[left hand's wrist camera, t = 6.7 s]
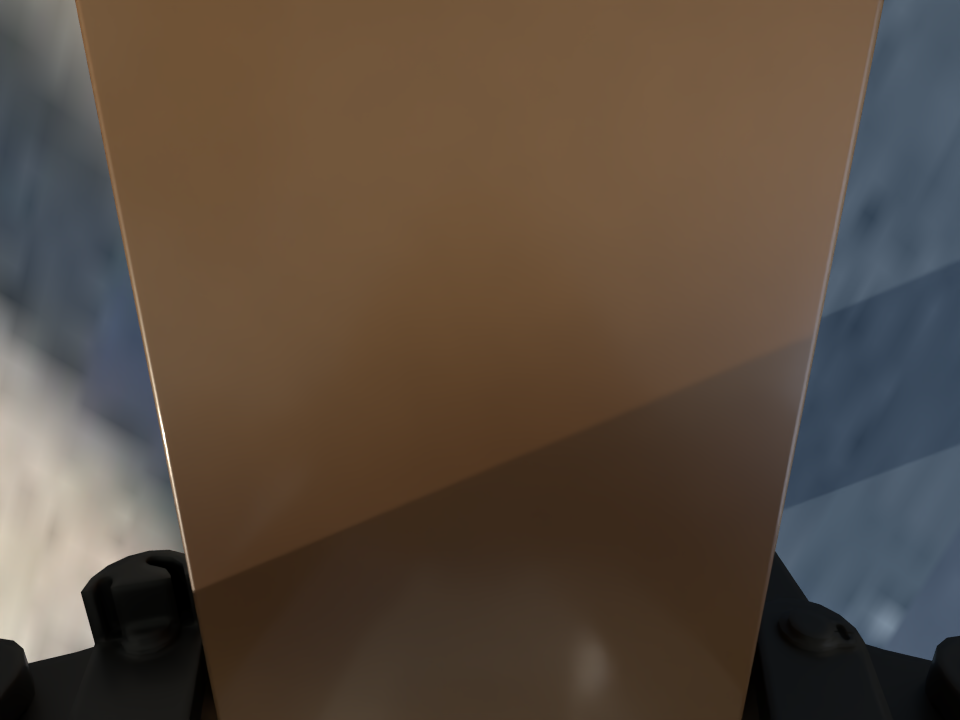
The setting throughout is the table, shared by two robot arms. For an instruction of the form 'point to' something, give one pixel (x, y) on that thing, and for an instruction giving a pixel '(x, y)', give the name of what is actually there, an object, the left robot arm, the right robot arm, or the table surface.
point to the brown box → (479, 334)
